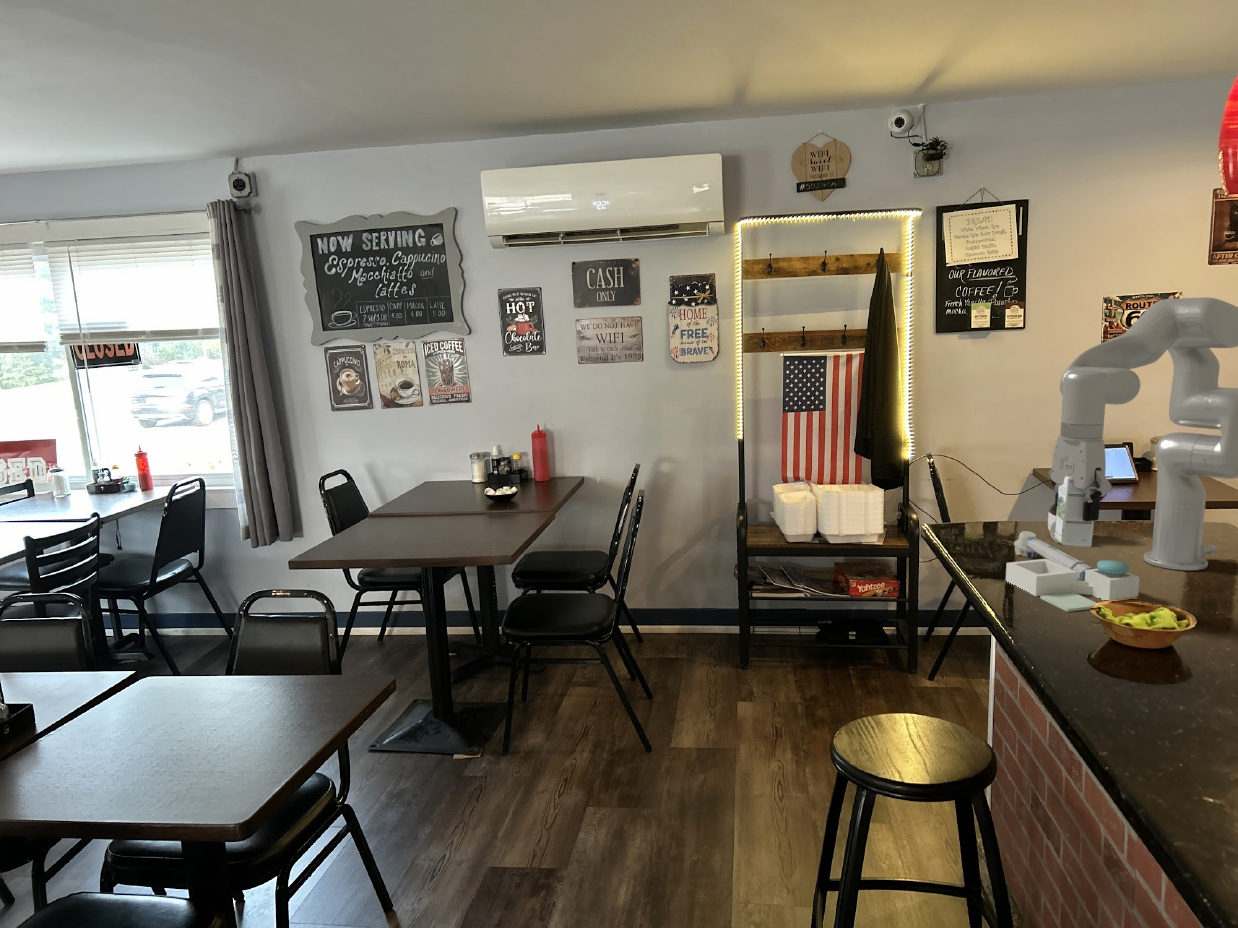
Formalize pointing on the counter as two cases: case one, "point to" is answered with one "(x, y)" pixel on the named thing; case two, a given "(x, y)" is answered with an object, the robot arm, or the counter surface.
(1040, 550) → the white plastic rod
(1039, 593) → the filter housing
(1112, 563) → the teal mushroom knob
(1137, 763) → the counter surface
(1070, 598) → the mat
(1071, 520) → the syrup box
